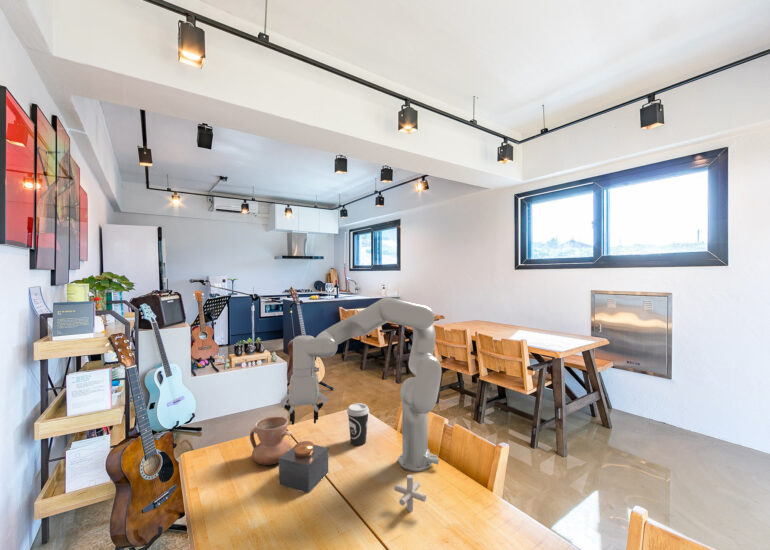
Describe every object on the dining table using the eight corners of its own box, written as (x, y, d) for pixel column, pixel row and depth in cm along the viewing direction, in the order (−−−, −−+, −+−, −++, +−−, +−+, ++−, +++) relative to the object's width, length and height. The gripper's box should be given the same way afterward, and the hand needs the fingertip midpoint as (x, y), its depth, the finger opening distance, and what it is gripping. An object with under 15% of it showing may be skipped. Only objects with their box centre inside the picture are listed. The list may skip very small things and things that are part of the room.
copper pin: (317, 472, 118) (317, 443, 118) (306, 483, 112) (306, 451, 112) (302, 468, 120) (302, 439, 120) (290, 478, 114) (290, 448, 114)
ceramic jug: (301, 452, 133) (300, 416, 134) (280, 472, 119) (280, 432, 120) (262, 447, 138) (262, 412, 139) (238, 465, 124) (238, 427, 125)
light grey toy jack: (417, 526, 93) (417, 491, 93) (387, 513, 99) (387, 479, 99) (431, 505, 102) (431, 473, 102) (403, 494, 107) (403, 463, 107)
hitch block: (328, 472, 119) (328, 447, 119) (308, 493, 108) (308, 465, 108) (300, 465, 124) (300, 441, 124) (279, 484, 113) (278, 458, 113)
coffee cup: (368, 447, 137) (368, 411, 137) (345, 447, 137) (345, 411, 137) (370, 436, 146) (370, 402, 146) (348, 436, 146) (348, 402, 146)
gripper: (329, 367, 121) (329, 416, 121) (280, 369, 119) (280, 419, 118) (328, 373, 114) (329, 425, 113) (276, 375, 111) (276, 429, 111)
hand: (304, 422), depth 116 cm, fingers open, 6 cm apart
